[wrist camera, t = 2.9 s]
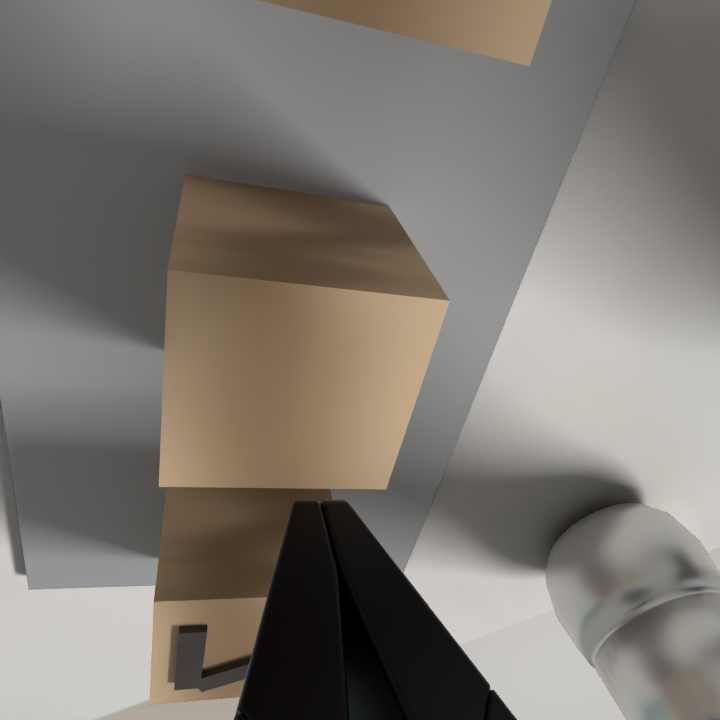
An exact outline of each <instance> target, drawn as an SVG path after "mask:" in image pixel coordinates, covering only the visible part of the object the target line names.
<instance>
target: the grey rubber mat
mask: <svg viewBox="0 0 720 720" xmlns="http://www.w3.org/2000/svg"><path fill="white" fill-rule="evenodd" d="M635 1H636V0H552V2H551V5H550V8H549V10H548V13H547V16H546V19H545V22H544V25H543V28H542V31H541V34H540V37H539V40H538V43H537V46H536V49H535V52H534V55H533V58H532V61H531V64H530V66H527V65H523V64H519V63H514V62H510V61H506V60H502V59H498V58H494V57H490V56H486V55H481V54H477V53H473V52H469V51H465V50H461V49H457V48H452V47H448V46H444V45H440V44H436V43H432V42H428V41H424V40H419V39H415V38H411V37H407V36H403V35H399V34H395V33H390V32H386V31H382V30H378V29H374V28H370V27H366V26H362V25H357V24H353V23H349V22H345V21H341V20H337V19H333V18H328V17H324V16H320V15H316V14H312V13H308V12H304V11H299V10H295V9H291V8H287V7H283V6H279V5H275V4H271V3H266V2H262V1H258V0H0V400H1V407H2V413H3V420H4V427H5V433H6V440H7V447H8V454H9V460H10V467H11V474H12V481H13V487H14V494H15V501H16V508H17V514H18V521H19V528H20V535H21V541H22V548H23V555H24V562H25V568H26V575H27V582H28V589H59V588H90V587H120V586H151V585H156V578H157V569H158V560H159V551H160V542H161V533H162V524H163V515H164V506H165V497H166V488H167V487H159V466H160V442H161V417H162V393H163V369H164V344H165V320H166V296H167V271H168V265H169V259H170V254H171V248H172V243H173V237H174V232H175V226H176V221H177V215H178V210H179V205H180V199H181V194H182V188H183V183H184V177H185V174H186V175H192V176H198V177H205V178H211V179H218V180H224V181H231V182H237V183H244V184H250V185H257V186H263V187H270V188H276V189H283V190H289V191H296V192H302V193H309V194H315V195H322V196H328V197H334V198H341V199H347V200H354V201H360V202H367V203H373V204H380V205H386V206H389V207H390V208H391V210H392V211H393V213H394V214H395V216H396V218H397V219H398V221H399V222H400V224H401V225H402V227H403V228H404V230H405V232H406V233H407V235H408V236H409V238H410V239H411V241H412V242H413V244H414V246H415V247H416V249H417V250H418V252H419V253H420V255H421V256H422V258H423V260H424V261H425V263H426V264H427V266H428V267H429V269H430V270H431V272H432V274H433V275H434V277H435V278H436V280H437V281H438V283H439V284H440V286H441V287H442V289H443V291H444V292H445V294H446V295H447V297H448V298H449V300H450V302H449V305H448V308H447V311H446V314H445V317H444V320H443V323H442V326H441V329H440V332H439V335H438V338H437V341H436V344H435V347H434V350H433V353H432V356H431V358H430V361H429V364H428V367H427V370H426V373H425V376H424V379H423V382H422V385H421V388H420V391H419V394H418V397H417V400H416V403H415V406H414V409H413V412H412V415H411V417H410V420H409V423H408V426H407V429H406V432H405V435H404V438H403V441H402V444H401V447H400V450H399V453H398V456H397V459H396V462H395V465H394V468H393V471H392V474H391V476H390V479H389V482H388V485H387V488H386V489H330V490H331V496H332V500H345V501H347V502H348V503H349V504H350V505H351V506H352V508H353V509H354V510H355V511H356V513H357V514H358V515H359V517H360V518H361V519H362V521H363V522H364V523H365V524H366V526H367V527H368V528H369V530H370V531H371V532H372V533H373V535H374V536H375V537H376V539H377V540H378V541H379V542H380V544H381V545H382V546H383V548H384V549H385V550H386V552H387V553H388V554H389V555H390V557H391V558H392V559H393V561H394V562H395V563H396V564H397V566H398V567H399V568H400V570H401V571H402V572H404V570H405V567H406V565H407V562H408V560H409V558H410V555H411V553H412V550H413V548H414V545H415V543H416V540H417V538H418V535H419V533H420V530H421V528H422V526H423V523H424V521H425V518H426V516H427V513H428V511H429V508H430V506H431V503H432V501H433V498H434V496H435V494H436V491H437V489H438V486H439V484H440V481H441V479H442V476H443V474H444V471H445V469H446V466H447V464H448V461H449V459H450V457H451V454H452V452H453V449H454V447H455V444H456V442H457V439H458V437H459V434H460V432H461V429H462V427H463V425H464V422H465V420H466V417H467V415H468V412H469V410H470V407H471V405H472V402H473V400H474V397H475V395H476V393H477V390H478V388H479V385H480V383H481V380H482V378H483V375H484V373H485V370H486V368H487V365H488V363H489V360H490V358H491V356H492V353H493V351H494V348H495V346H496V343H497V341H498V338H499V336H500V333H501V331H502V328H503V326H504V324H505V321H506V319H507V316H508V314H509V311H510V309H511V306H512V304H513V301H514V299H515V296H516V294H517V292H518V289H519V287H520V284H521V282H522V279H523V277H524V274H525V272H526V269H527V267H528V264H529V262H530V259H531V257H532V255H533V252H534V250H535V247H536V245H537V242H538V240H539V237H540V235H541V232H542V230H543V227H544V225H545V223H546V220H547V218H548V215H549V213H550V210H551V208H552V205H553V203H554V200H555V198H556V195H557V193H558V191H559V188H560V186H561V183H562V181H563V178H564V176H565V173H566V171H567V168H568V166H569V163H570V161H571V158H572V156H573V154H574V151H575V149H576V146H577V144H578V141H579V139H580V136H581V134H582V131H583V129H584V126H585V124H586V122H587V119H588V117H589V114H590V112H591V109H592V107H593V104H594V102H595V99H596V97H597V94H598V92H599V90H600V87H601V85H602V82H603V80H604V77H605V75H606V72H607V70H608V67H609V65H610V62H611V60H612V57H613V55H614V53H615V50H616V48H617V45H618V43H619V40H620V38H621V35H622V33H623V30H624V28H625V25H626V23H627V21H628V18H629V16H630V13H631V11H632V8H633V6H634V3H635Z"/></svg>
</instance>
